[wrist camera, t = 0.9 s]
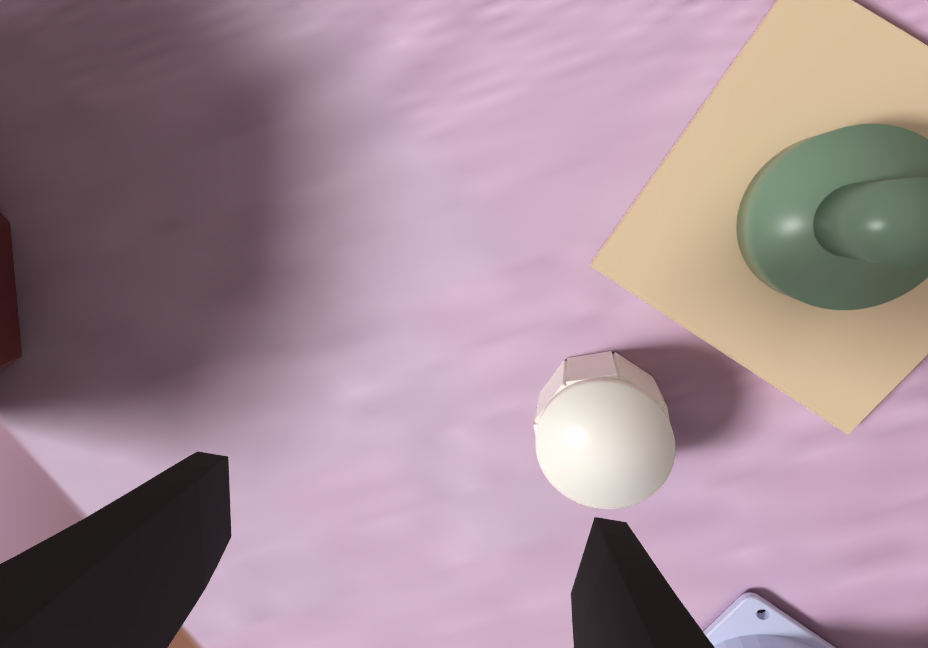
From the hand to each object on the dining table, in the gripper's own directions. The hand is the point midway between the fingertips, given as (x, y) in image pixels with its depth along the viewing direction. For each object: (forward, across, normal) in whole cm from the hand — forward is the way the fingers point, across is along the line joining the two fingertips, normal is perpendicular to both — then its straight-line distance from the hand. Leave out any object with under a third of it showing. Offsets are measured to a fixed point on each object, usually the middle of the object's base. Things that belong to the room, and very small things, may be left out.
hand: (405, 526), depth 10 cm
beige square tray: (+13, -13, -6) cm, 19 cm away
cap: (+12, -7, +4) cm, 15 cm away
